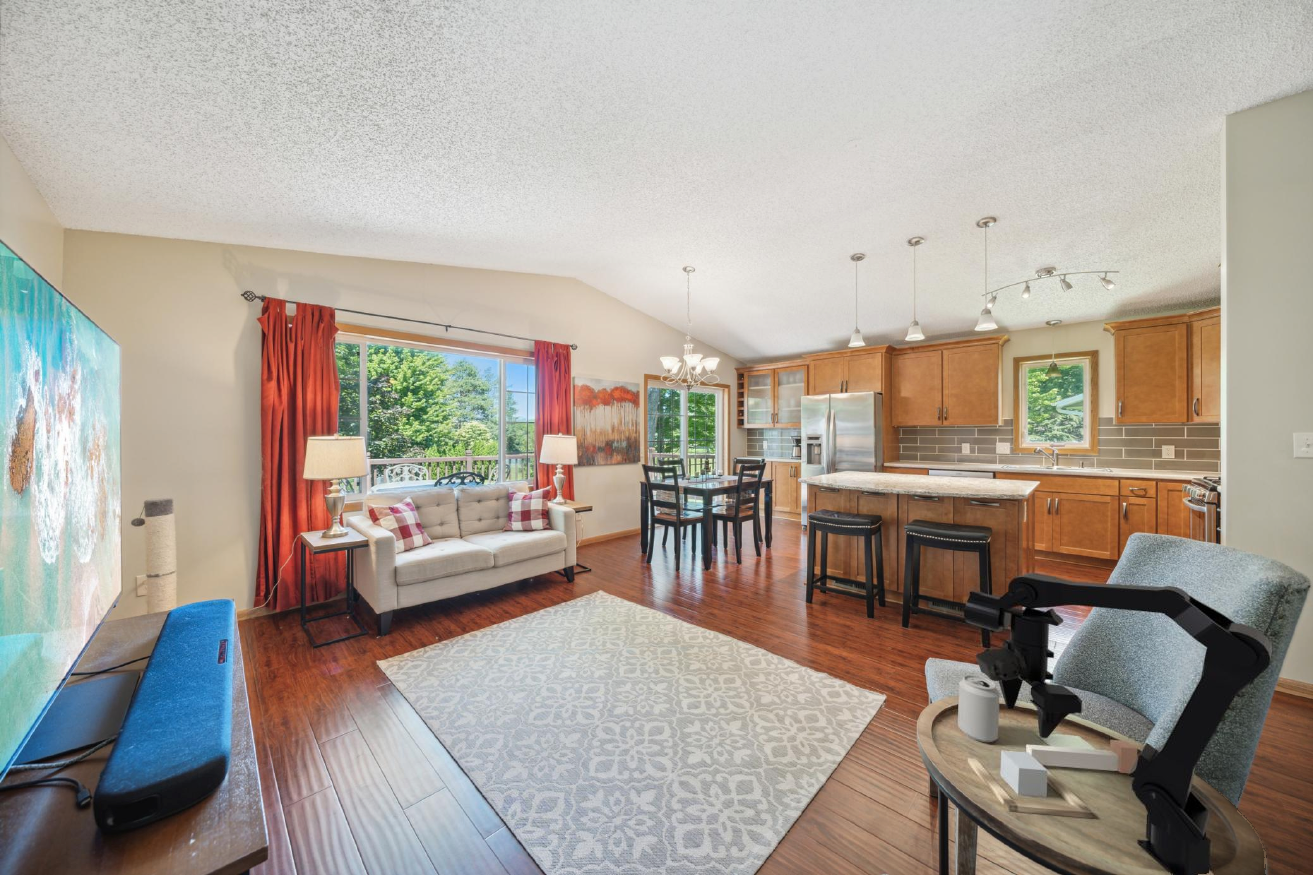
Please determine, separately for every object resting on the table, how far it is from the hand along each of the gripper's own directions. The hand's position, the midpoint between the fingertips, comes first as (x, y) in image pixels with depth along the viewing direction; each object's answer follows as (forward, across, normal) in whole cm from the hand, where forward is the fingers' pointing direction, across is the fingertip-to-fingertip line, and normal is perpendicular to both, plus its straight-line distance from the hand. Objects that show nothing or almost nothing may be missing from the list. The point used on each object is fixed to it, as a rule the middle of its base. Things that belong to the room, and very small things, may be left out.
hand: (1025, 722), depth 90 cm
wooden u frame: (+12, 0, 0) cm, 12 cm away
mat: (+12, -13, +19) cm, 26 cm away
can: (+12, -16, +1) cm, 20 cm away
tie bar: (+12, -7, +15) cm, 20 cm away
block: (+12, 0, 0) cm, 12 cm away
